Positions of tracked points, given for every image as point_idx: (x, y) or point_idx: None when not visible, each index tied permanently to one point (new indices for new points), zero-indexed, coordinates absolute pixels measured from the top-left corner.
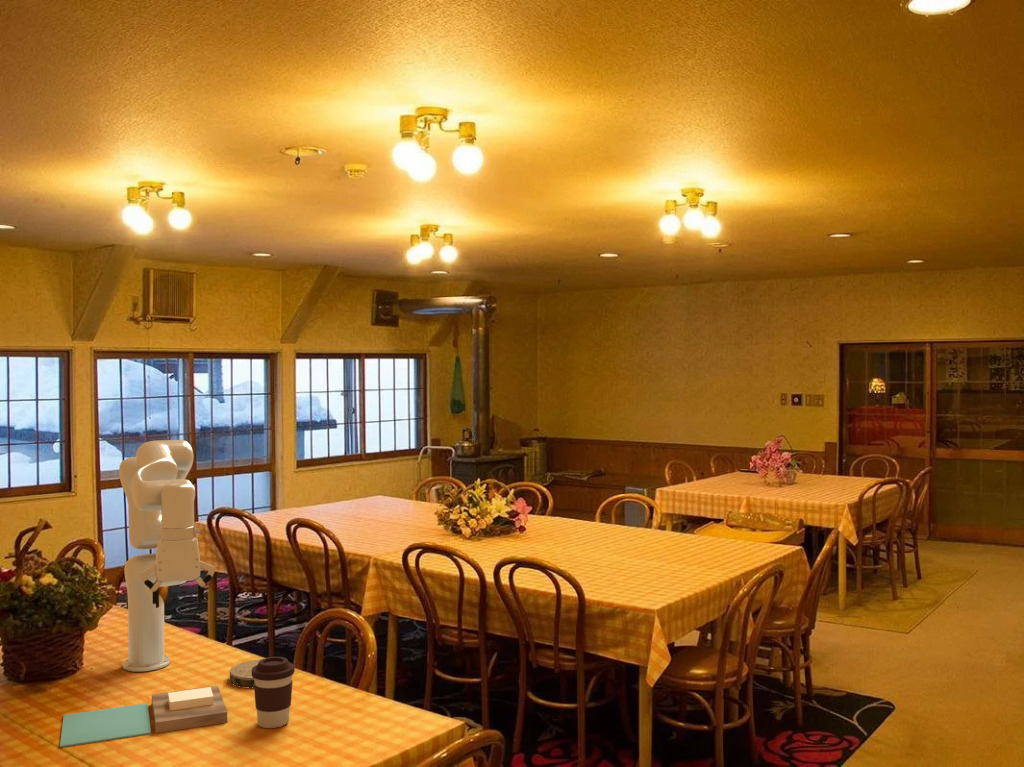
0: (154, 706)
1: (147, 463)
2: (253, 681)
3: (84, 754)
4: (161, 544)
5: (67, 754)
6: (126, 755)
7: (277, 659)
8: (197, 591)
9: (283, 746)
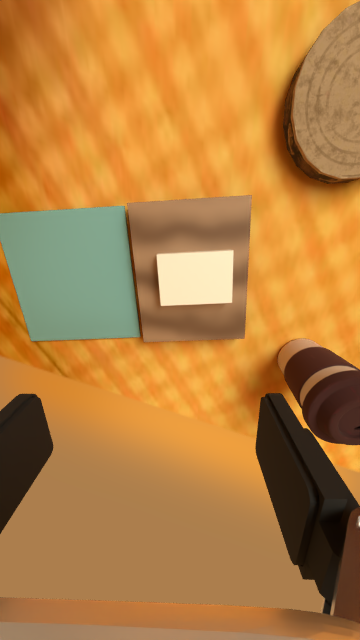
0: (137, 274)
1: None
2: (324, 177)
3: (69, 368)
4: None
5: (49, 362)
6: (118, 387)
7: None
8: (286, 449)
9: None
